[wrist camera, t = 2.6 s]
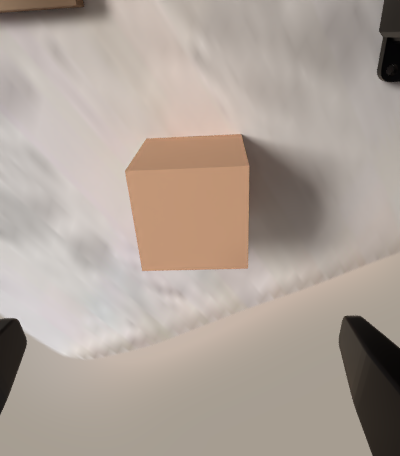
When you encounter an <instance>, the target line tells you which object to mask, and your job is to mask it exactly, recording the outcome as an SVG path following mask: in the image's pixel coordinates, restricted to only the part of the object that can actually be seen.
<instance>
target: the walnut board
mask: <svg viewBox="0 0 400 456" xmlns="http://www.w3.org/2000/svg"><path fill="white" fill-rule="evenodd" d="M76 7H84V2H83V0H0V13H5V12H19V11H33V10H48V9H62V8H76Z"/></svg>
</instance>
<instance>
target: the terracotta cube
mask: <svg viewBox="0 0 400 456" xmlns="http://www.w3.org/2000/svg"><path fill="white" fill-rule="evenodd" d="M125 173H126V179H127V185H128V191H129V196H130V202H131V208H132V214H133V220H134V225H135V231H136V237H137V243H138V248H139V254H140V260H141V266H142V271H157V270H201V269H245V268H248V227H249V163H248V159H247V155H246V151H245V147H244V143H243V139H242V135H241V134H236V135H215V136H193V137H172V138H151V139H146V140H145V142H144V143H143V145H142V146H141V148H140V149H139V151H138V152H137V154H136V155H135V157H134V158H133V160H132V161H131V163H130V164H129V166H128V168H127V169H126V171H125Z"/></svg>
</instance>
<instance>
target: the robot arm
mask: <svg viewBox="0 0 400 456" xmlns="http://www.w3.org/2000/svg"><path fill="white" fill-rule="evenodd" d="M379 32H380V33H381V35H382V36H383V41H382V46H381V52H380V58H379V63H378V69H377V75H378V77H379V78H380V79H381V80H382V81H386V82H400V0H384V5H383V11H382V17H381V22H380V28H379ZM391 64H393V65H394V71H393V72H392V73H391V74H390V75H387V73H386V70H387V68H388V67H389V66H390V65H391ZM26 345H27V340H26V336H25V334H24V332H23V329H22V327H21V325H20V322H19V321H18V320H17V319H15V318H4V319H0V414H1V412H2V410H3V408H4V405H5V403H6V401H7V398H8V396H9V393H10V391H11V388H12V385H13V382H14V380H15V377H16V374H17V371H18V368H19V366H20V363H21V360H22V357H23V354H24V352H25V348H26ZM339 347H340V351H341V355H342V359H343V363H344V367H345V371H346V375H347V379H348V383H349V387H350V392H351V395H352V399H353V402H354V406H355V408H356V412H357V414H358V417H359V420H360V422H361V425H362V428H363V431H364V433H365V436H366V439H367V441H368V444H369V447H370V450H371V452H372V455H373V456H400V348H399V347H398V346H397V345H395V344H394V343H393V342H392V341H391V340H389V339H388V338H387V337H386V336H385V335H383V334H382V333H381V332H380V331H378V330H377V329H376V328H375V327H373V326H372V325H371V324H370V323H369V322H367V321H366V320H365V319H364V318H362V317H361V316H345V317H344V318H343V320H342V325H341V330H340V335H339Z"/></svg>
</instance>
